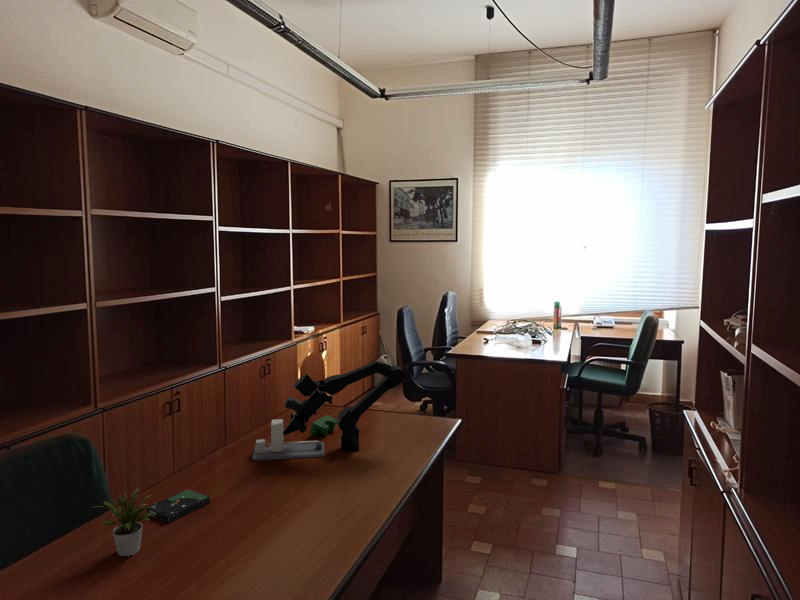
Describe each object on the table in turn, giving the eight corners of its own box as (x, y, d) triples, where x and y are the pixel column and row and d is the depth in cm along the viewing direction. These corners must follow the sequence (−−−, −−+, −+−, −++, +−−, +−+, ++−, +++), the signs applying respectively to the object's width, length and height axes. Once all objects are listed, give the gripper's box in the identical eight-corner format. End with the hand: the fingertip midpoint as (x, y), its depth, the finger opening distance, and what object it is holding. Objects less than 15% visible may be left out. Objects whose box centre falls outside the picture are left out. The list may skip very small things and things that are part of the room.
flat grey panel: (324, 444, 224) (323, 432, 224) (324, 456, 213) (324, 443, 212) (255, 448, 221) (255, 435, 220) (252, 460, 209) (251, 447, 208)
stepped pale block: (283, 445, 219) (282, 419, 218) (282, 451, 213) (282, 424, 212) (272, 446, 218) (272, 419, 217) (271, 452, 213) (271, 424, 211)
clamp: (322, 446, 234) (322, 431, 229) (310, 441, 237) (309, 425, 232) (339, 428, 243) (338, 412, 238) (327, 422, 245) (326, 407, 240)
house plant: (108, 577, 138) (104, 512, 136) (84, 555, 147) (80, 494, 145) (165, 552, 149) (162, 491, 147) (140, 533, 158) (137, 476, 156)
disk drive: (169, 525, 164) (211, 504, 176) (169, 516, 163) (210, 495, 176) (146, 516, 169) (188, 496, 181) (145, 507, 168) (187, 487, 181)
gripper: (298, 383, 223) (269, 412, 223) (296, 397, 205) (265, 428, 205) (318, 402, 226) (290, 431, 225) (319, 417, 207) (288, 448, 207)
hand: (283, 434), depth 215 cm, fingers closed, pressing on stepped pale block
